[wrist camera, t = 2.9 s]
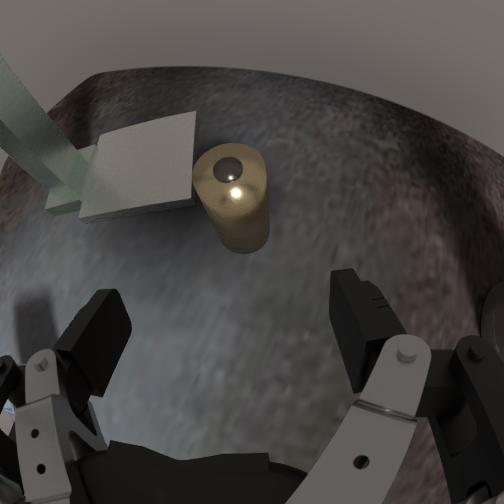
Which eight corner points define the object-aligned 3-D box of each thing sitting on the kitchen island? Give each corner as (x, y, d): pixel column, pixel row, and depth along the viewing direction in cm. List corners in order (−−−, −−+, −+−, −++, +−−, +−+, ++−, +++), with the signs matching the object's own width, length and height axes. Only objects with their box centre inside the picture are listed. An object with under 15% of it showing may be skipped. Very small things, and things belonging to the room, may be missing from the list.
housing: (267, 204, 25) (261, 136, 17) (272, 251, 24) (269, 196, 15) (218, 210, 25) (192, 146, 17) (220, 256, 24) (189, 205, 15)
